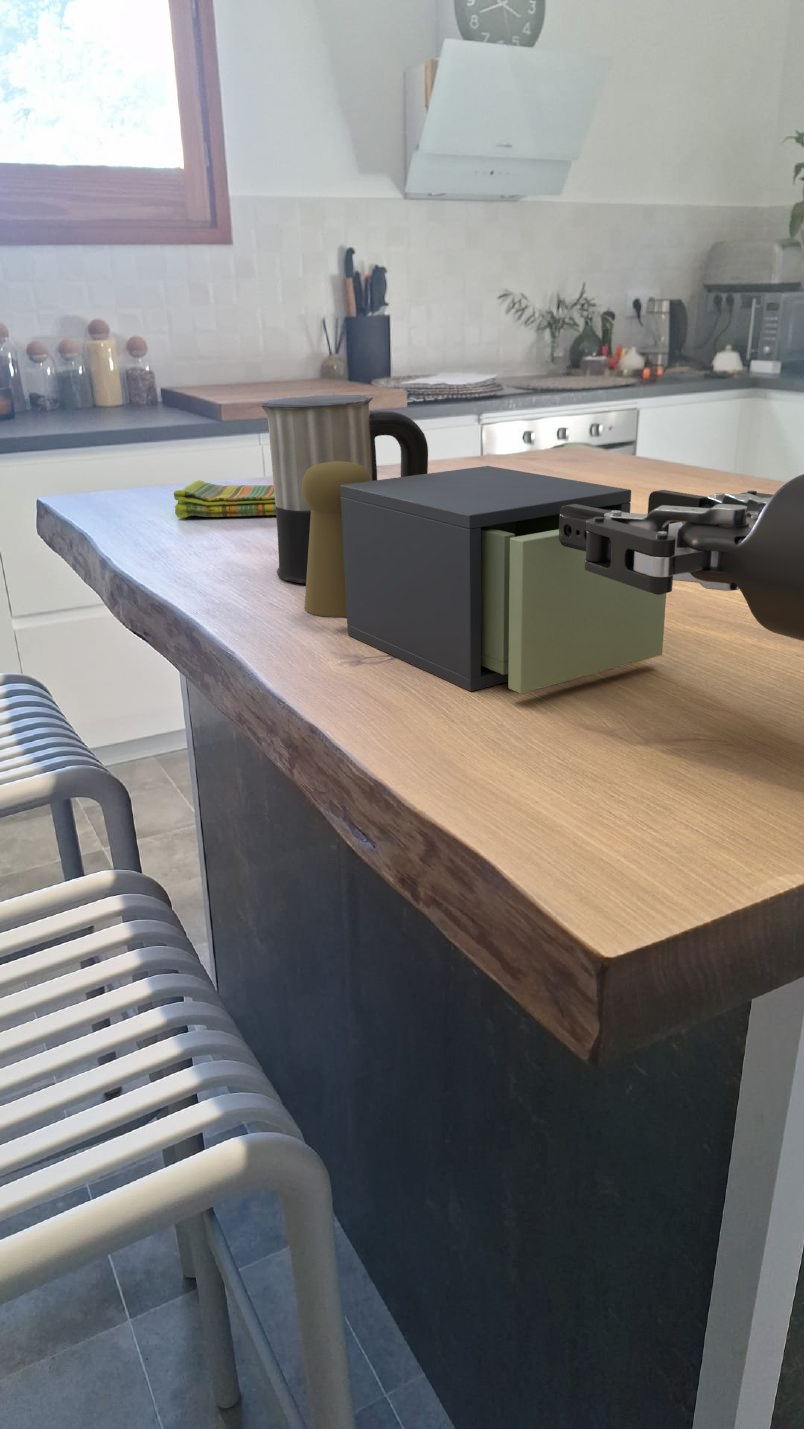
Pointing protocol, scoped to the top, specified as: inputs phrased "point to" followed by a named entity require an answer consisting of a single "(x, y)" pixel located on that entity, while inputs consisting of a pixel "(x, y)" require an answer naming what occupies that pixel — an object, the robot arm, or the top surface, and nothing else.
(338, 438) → the milk frother
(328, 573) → the olive pawn
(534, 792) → the top surface
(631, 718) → the top surface
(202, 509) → the dish towel
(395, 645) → the cabinet
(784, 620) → the robot arm
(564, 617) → the drawer
